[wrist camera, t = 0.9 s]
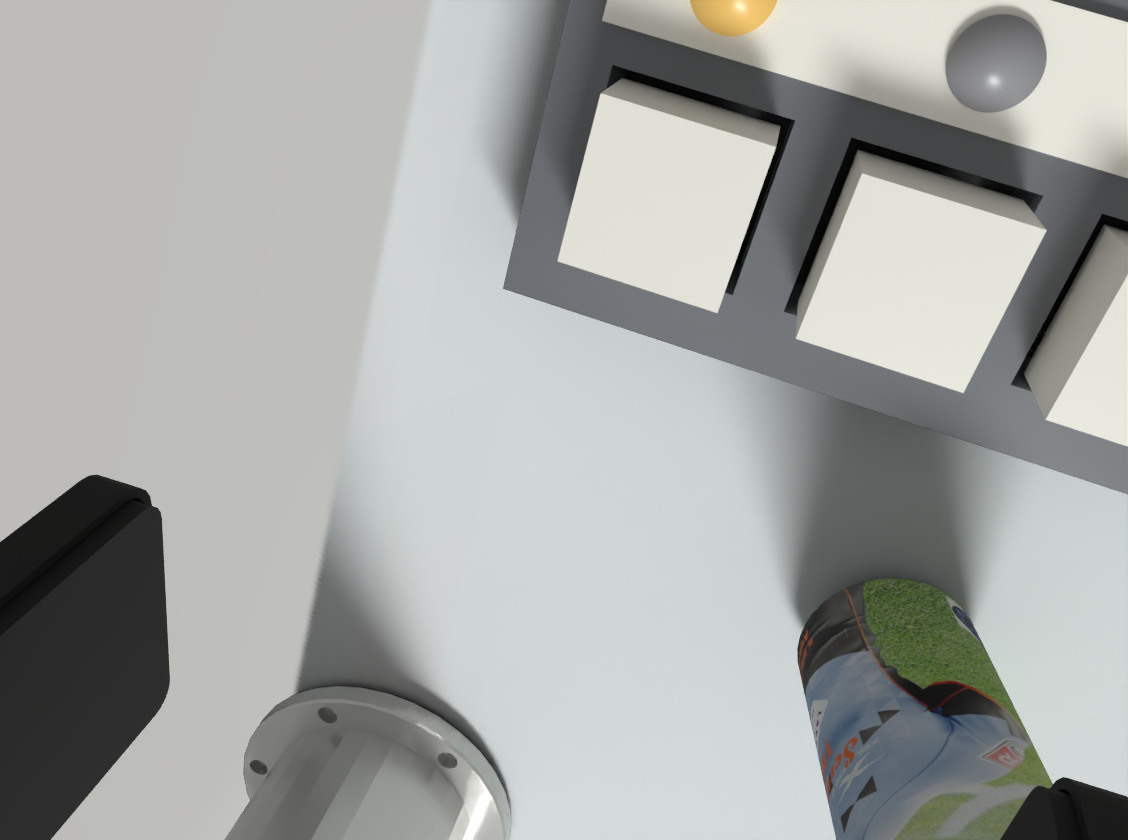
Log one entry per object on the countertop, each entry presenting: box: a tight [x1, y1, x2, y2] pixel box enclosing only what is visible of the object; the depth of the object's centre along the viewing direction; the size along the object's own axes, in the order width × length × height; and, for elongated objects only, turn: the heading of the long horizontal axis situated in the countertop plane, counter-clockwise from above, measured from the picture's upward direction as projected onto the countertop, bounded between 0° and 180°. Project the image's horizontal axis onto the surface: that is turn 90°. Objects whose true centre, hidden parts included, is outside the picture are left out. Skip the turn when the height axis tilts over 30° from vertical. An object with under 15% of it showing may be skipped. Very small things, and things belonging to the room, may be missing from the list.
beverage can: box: [798, 578, 1053, 840], centre depth 29 cm, size 6×7×12 cm
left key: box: [558, 78, 781, 313], centre depth 26 cm, size 4×4×3 cm
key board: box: [503, 0, 1128, 494], centre depth 26 cm, size 12×21×4 cm, turn 76°
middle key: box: [796, 150, 1047, 393], centre depth 25 cm, size 4×4×3 cm
